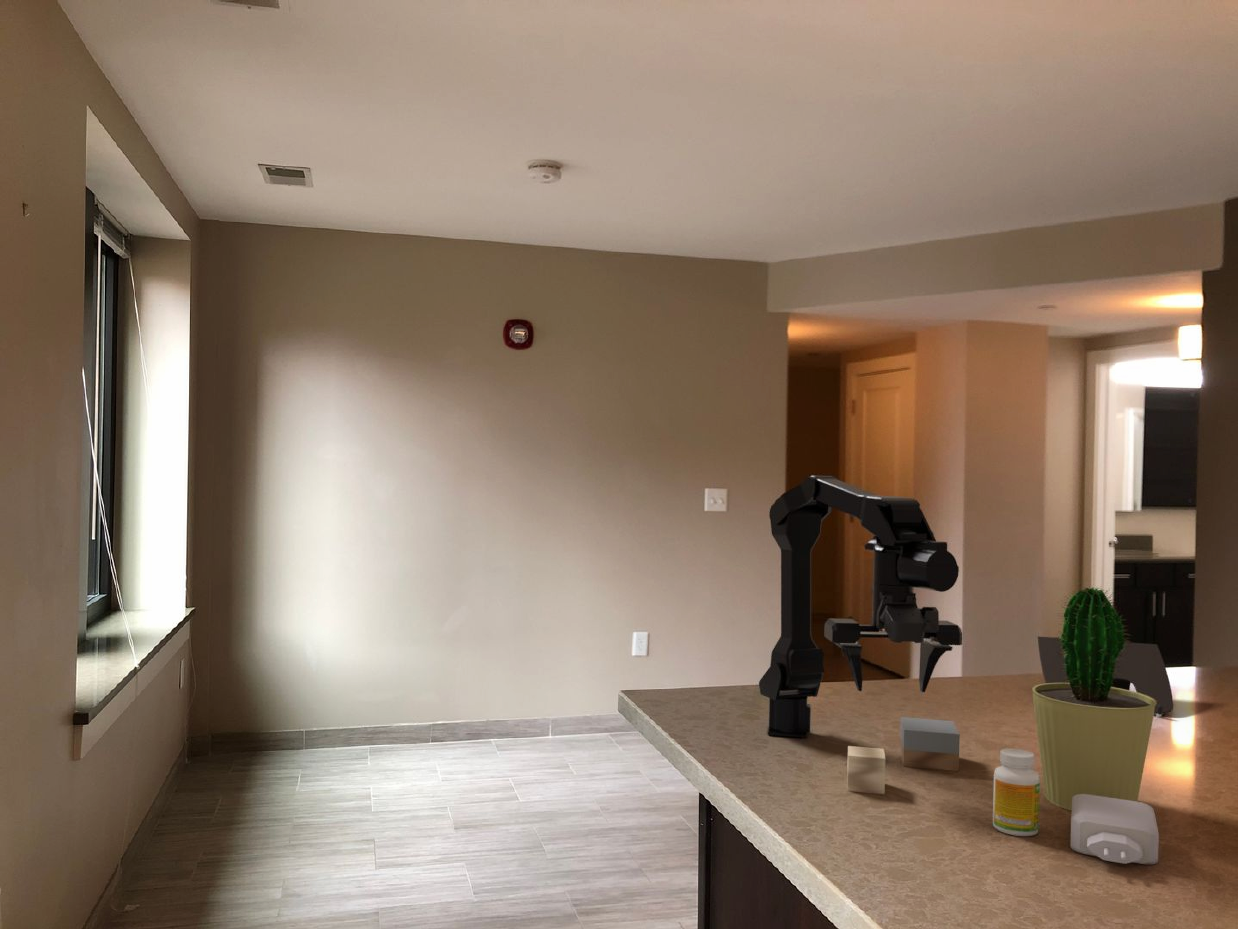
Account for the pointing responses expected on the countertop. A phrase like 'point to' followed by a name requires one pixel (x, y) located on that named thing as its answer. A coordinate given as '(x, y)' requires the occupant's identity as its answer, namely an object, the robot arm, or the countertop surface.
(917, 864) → the countertop surface
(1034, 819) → the supplement bottle
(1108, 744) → the potted cactus
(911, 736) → the slate block
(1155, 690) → the portable electronic device stand
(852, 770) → the birch cube
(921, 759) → the walnut block
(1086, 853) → the charger
